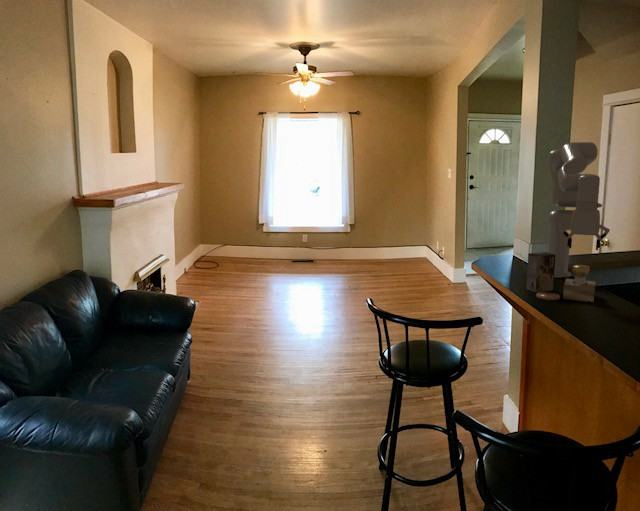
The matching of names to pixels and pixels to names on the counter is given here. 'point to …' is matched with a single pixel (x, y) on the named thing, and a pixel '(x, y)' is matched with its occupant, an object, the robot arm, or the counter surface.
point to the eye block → (579, 290)
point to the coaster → (548, 296)
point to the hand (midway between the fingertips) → (583, 248)
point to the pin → (580, 273)
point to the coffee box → (540, 271)
